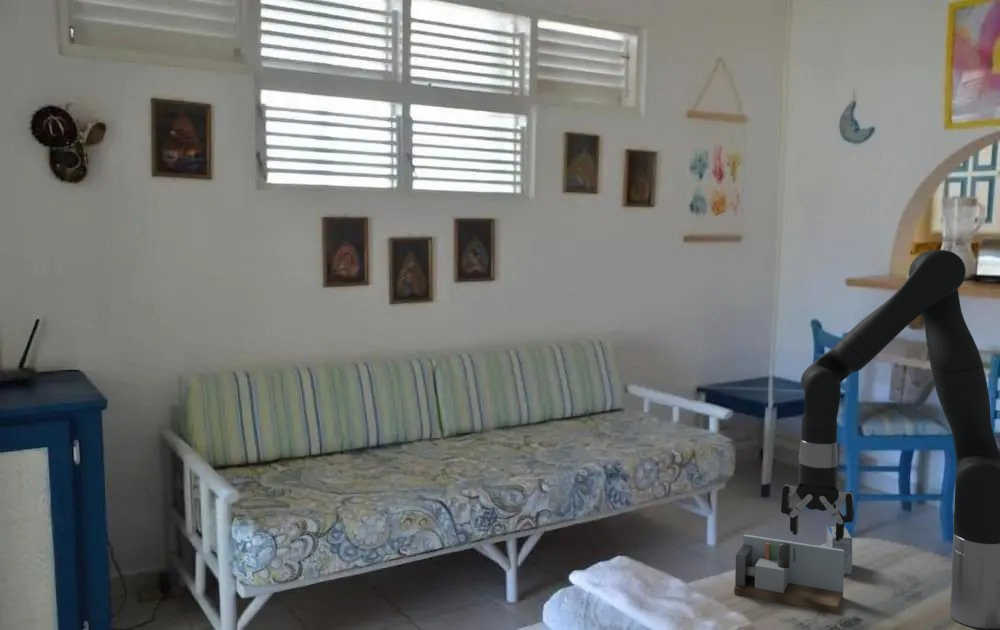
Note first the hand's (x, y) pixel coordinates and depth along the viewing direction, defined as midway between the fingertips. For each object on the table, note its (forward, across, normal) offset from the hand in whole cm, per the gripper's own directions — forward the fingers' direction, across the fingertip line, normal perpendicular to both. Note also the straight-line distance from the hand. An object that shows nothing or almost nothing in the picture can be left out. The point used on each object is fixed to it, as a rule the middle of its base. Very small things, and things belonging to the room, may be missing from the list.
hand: (816, 536), depth 182 cm
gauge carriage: (+12, +10, 0) cm, 16 cm away
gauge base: (+14, +6, 0) cm, 15 cm away
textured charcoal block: (+13, +15, 0) cm, 20 cm away
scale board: (+13, +6, -4) cm, 14 cm away
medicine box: (+14, -2, -22) cm, 26 cm away
